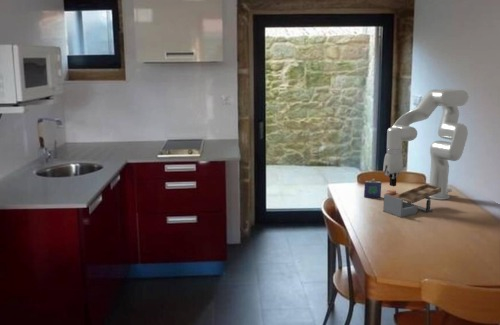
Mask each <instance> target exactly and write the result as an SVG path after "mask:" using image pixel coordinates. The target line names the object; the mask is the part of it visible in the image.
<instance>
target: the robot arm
mask: <svg viewBox="0 0 500 325" xmlns="http://www.w3.org/2000/svg"><path fill="white" fill-rule="evenodd" d="M469 98H470V96H469V93H468V91H467V90H464V89H460V88H459V89H457V88H441V89H430V90H429V91H428V92H427V93H425V95H424V97H423V98H422V99H421V100H420V102H418V104H417V105H416V106H415V108H413V109H411V110H409V111H407V112H405V113H404V114H402V115H401V116H400V117H399V118H398V119H397V120H395V123H393V125H392V126H391V127H388V129H387V131H386V132H387V133H386V153H385V155H384V158H383V165H382V166H383V167H382V172H383V173H384V176H386V177H388V178H389V186H392V187H396V186H397V179H398V177H399V175H400V174H401V173H402V171H403V170H404V169H403V168H404V158H403V153H402V150H403V142H404V141H405V142H410V141H411V142H412V141H414V140H416V138H417V137H418V131H417V128H416V127H413V126H410V125H412V124H415V123H418V122H421V121H425V120H427V119H429V118H430V117H431V115H432V114H433V112H434V111H436V109H437V107H441V108H442V116H441V119H440V123H439V127H438V130H437V135H438V137H439V138H440V139H444V140H449V141H444V140H435V141H434V142H432V143H431V145H430V148H429V154H430V172H429V173H430V174H429V182H428V183H429V185H433V186H436V187H440V188H441V192H439V193H437V194H434V195H432V196H430V198H431V200H438V201H440V200H442V201H443V200H449V199H450V197H451V196H450V195H449V193H451V192H452V191H453V189H452V188H448V185H449V172H450V164H449V161H451V162H457V161H458V160H460V159H461V157H463V156H462V155H463V153H464V150H465V146H466V143H467V138H468V134H469V132H468V127H467V126H466V124H464V123H459V116H460V110H459V107H462V106H464V105H466V104H467V103H468V102H469V101H468V100H469ZM450 141H451V142H450Z"/></svg>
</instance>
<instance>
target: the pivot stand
mask: <svg viewBox="0 0 500 325" xmlns="http://www.w3.org/2000/svg"><path fill="white" fill-rule="evenodd" d="M431 202H432V199H430V200H428V199H426V206H425V207H423V206H421V205H417V204H415V203H410V202H407V201H406V203H409V204H412V205H416V206H418V207H417V211H420V212H423V213H427V214H428V213H432V212H433V209H431V205H432V204H431Z"/></svg>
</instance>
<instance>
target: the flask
mask: <svg viewBox="0 0 500 325" xmlns="http://www.w3.org/2000/svg"><path fill="white" fill-rule="evenodd" d="M375 179H376V178H372V179H371V180H365V181H364V192H363V197H364V198H366V199H374V198H375V199H380V198H382V181H375Z"/></svg>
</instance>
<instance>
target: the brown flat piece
mask: <svg viewBox="0 0 500 325" xmlns="http://www.w3.org/2000/svg"><path fill="white" fill-rule="evenodd" d="M439 192H441V188H440V187H436V186H433V185H429V184H428V183H424V184H422V185H419V186H416V187H415V188H414V187H413V188H412V189H408V190H406V191H404V192H400V193H398V192H397V191H396V190H395V189H389V190H386V192H385V193H384V194H387V195H390V196H393V197H396V198H400V199H403V202H406V203H407V202H410V203H411V204H416V203H417V202H419V201H422V200H424V199H425V200H432V198H430V196H432V195H434V194H437V193H439Z"/></svg>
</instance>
